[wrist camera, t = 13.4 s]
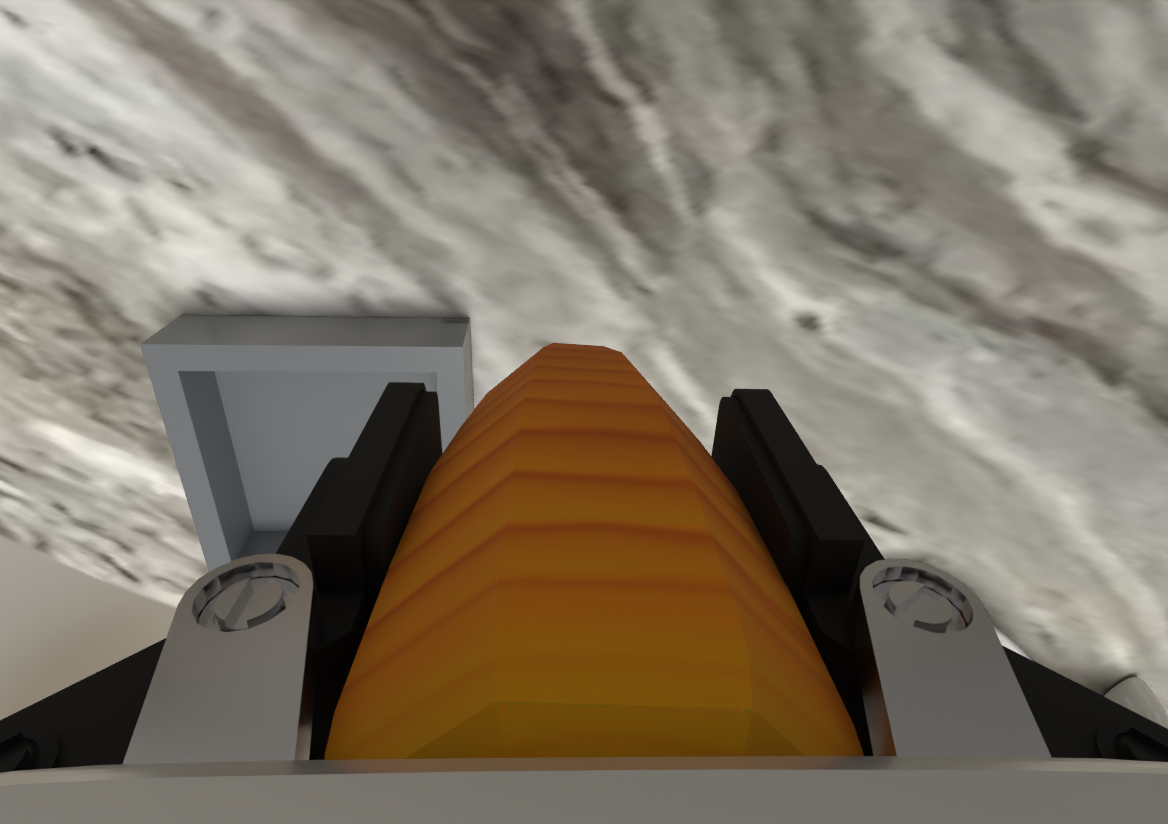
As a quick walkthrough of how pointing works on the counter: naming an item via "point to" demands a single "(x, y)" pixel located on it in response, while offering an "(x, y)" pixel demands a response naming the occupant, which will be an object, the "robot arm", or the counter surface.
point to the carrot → (584, 594)
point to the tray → (286, 408)
